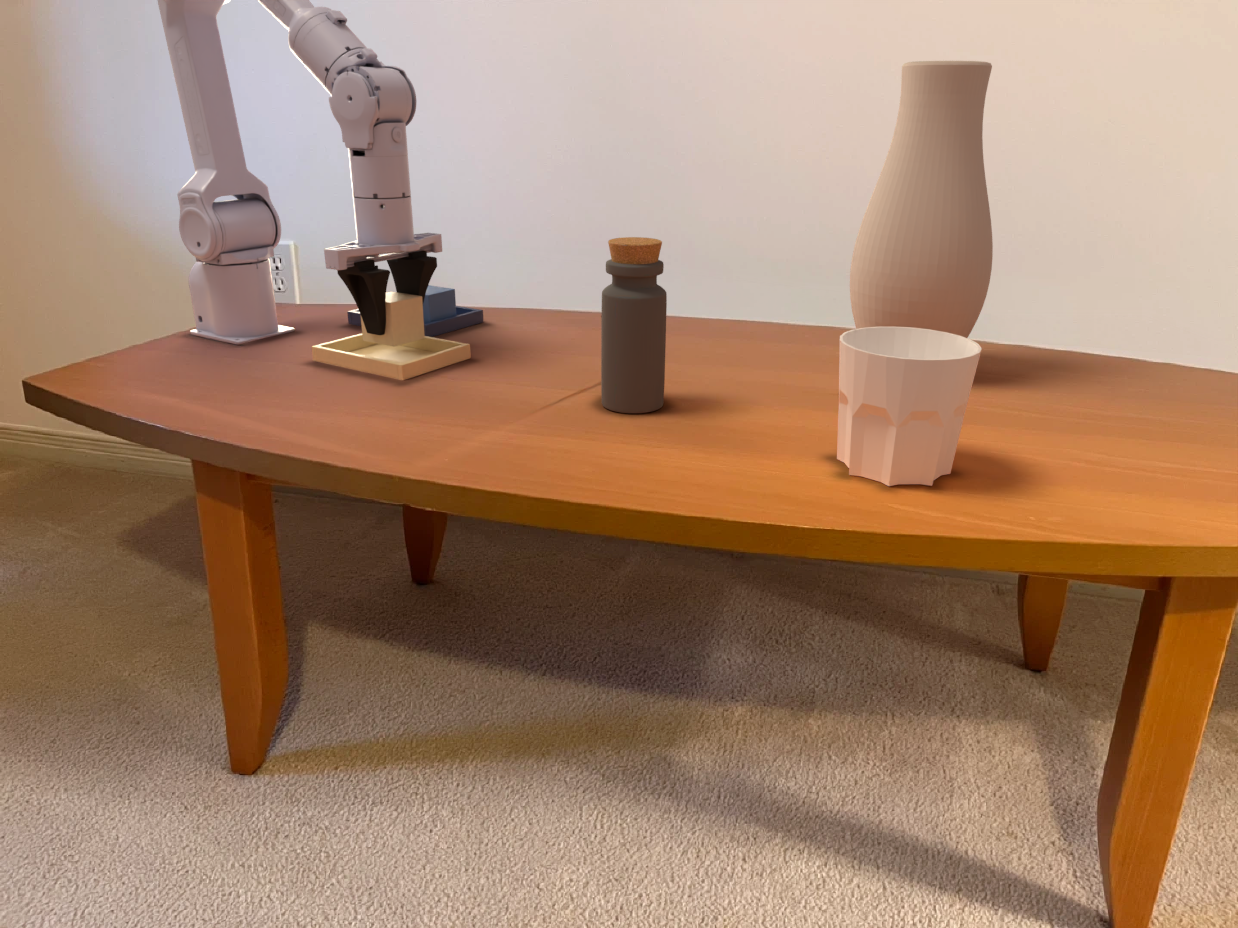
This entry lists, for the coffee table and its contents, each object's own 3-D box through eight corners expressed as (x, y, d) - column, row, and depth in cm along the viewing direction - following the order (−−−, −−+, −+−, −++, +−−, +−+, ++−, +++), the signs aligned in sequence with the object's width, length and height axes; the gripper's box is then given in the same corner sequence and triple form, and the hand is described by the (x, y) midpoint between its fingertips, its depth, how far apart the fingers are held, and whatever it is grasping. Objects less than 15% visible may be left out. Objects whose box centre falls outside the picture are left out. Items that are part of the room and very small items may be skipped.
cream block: (362, 340, 95) (358, 297, 94) (394, 333, 99) (391, 291, 97) (393, 346, 93) (390, 302, 91) (425, 338, 97) (422, 296, 95)
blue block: (403, 328, 109) (400, 290, 108) (429, 321, 113) (427, 284, 111) (431, 333, 107) (428, 295, 105) (457, 326, 111) (455, 288, 109)
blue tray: (348, 326, 112) (347, 311, 111) (407, 311, 120) (406, 297, 119) (427, 341, 105) (426, 325, 104) (483, 324, 113) (483, 309, 112)
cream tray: (313, 363, 96) (311, 346, 95) (383, 343, 104) (382, 327, 103) (403, 383, 89) (401, 365, 89) (471, 361, 97) (470, 343, 97)
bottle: (671, 398, 86) (676, 237, 80) (653, 417, 80) (657, 246, 75) (613, 392, 87) (614, 234, 82) (592, 409, 82) (591, 243, 77)
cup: (848, 492, 65) (863, 360, 61) (813, 444, 74) (824, 326, 71) (982, 491, 66) (1005, 359, 62) (931, 443, 75) (948, 326, 71)
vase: (995, 387, 90) (1052, 59, 79) (859, 386, 90) (897, 58, 79) (946, 352, 103) (989, 66, 92) (827, 351, 103) (855, 64, 91)
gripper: (355, 204, 83) (369, 348, 88) (460, 193, 94) (467, 320, 99) (303, 200, 86) (319, 338, 91) (411, 189, 98) (420, 313, 103)
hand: (393, 328), depth 96 cm, fingers closed on cream block, 4 cm apart
